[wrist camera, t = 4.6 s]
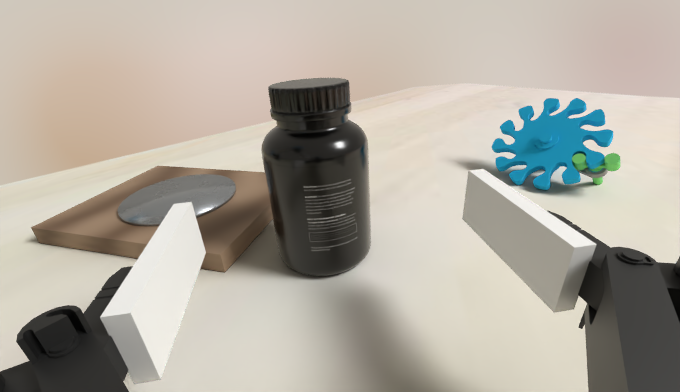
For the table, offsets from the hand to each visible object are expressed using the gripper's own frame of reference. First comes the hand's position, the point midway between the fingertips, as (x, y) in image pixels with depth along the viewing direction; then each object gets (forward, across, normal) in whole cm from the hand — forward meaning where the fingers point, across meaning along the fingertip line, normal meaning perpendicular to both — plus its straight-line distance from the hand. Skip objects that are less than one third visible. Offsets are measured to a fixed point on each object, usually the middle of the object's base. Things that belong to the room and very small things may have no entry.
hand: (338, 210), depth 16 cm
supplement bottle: (+7, 0, -7) cm, 10 cm away
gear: (+14, +23, -7) cm, 28 cm away
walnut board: (+16, -13, -7) cm, 21 cm away
